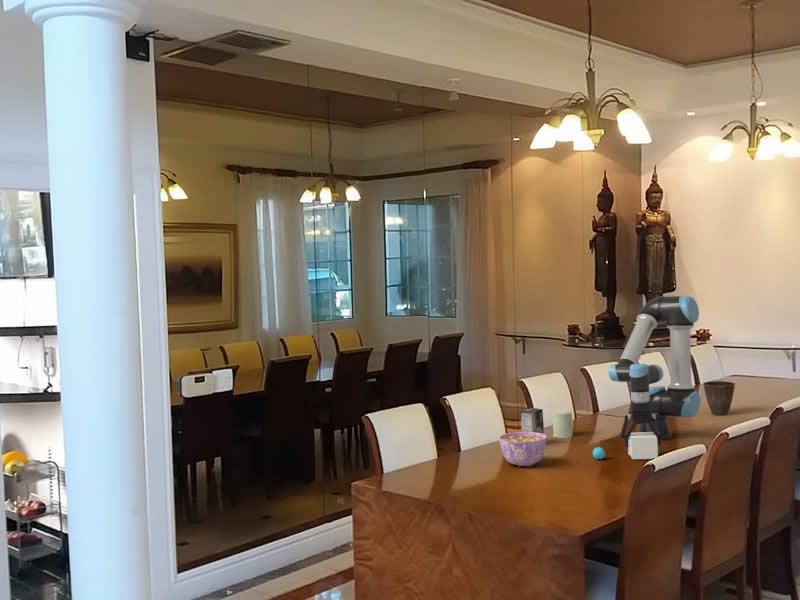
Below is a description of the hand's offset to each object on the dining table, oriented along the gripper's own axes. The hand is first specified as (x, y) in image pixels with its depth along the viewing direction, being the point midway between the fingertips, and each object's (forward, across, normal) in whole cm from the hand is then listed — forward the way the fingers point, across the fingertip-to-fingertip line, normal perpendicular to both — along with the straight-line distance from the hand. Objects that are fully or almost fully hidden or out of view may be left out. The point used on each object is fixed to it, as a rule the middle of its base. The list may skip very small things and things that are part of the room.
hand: (643, 454), depth 336 cm
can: (+2, -31, +45) cm, 55 cm away
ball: (-1, -18, -2) cm, 18 cm away
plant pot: (+3, +50, +88) cm, 101 cm away
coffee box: (+1, -45, +28) cm, 53 cm away
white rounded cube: (+1, 0, 0) cm, 1 cm away
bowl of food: (+1, -49, -8) cm, 50 cm away
